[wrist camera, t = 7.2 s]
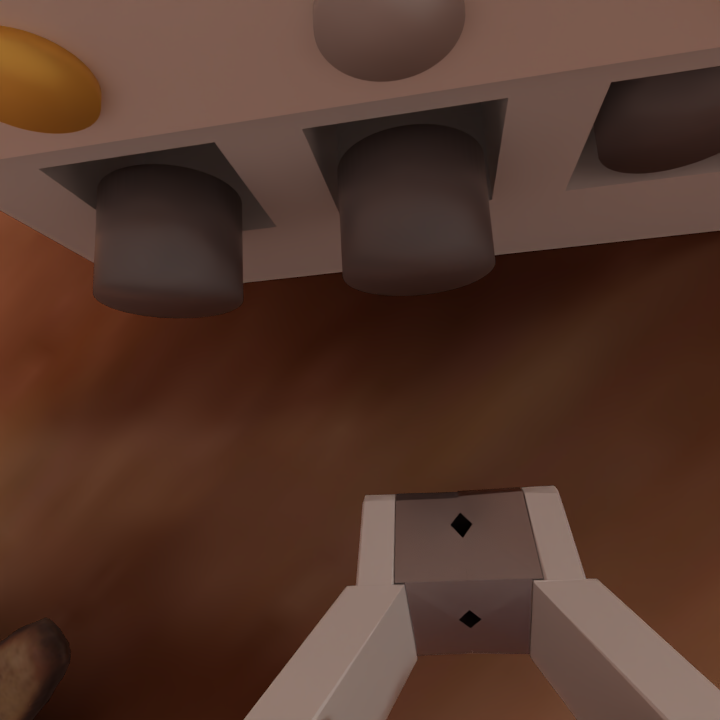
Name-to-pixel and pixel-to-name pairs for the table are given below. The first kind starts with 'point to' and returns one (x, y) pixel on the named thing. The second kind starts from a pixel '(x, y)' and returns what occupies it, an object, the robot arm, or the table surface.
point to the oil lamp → (31, 668)
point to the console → (343, 110)
